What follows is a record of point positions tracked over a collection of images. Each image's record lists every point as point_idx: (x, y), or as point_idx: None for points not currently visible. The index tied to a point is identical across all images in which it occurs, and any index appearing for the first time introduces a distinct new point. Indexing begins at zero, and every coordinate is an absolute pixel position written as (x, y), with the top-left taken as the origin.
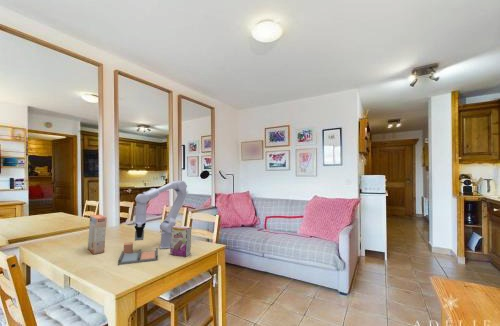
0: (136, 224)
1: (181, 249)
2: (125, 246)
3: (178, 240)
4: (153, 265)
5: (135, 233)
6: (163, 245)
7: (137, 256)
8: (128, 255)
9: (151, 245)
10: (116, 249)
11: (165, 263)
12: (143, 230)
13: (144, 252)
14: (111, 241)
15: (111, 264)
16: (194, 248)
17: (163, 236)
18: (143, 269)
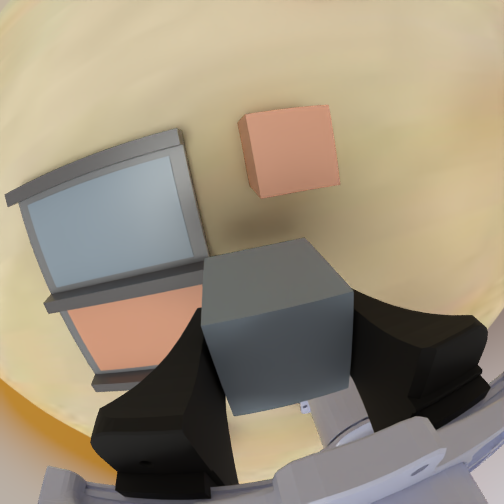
0: (426, 364)
1: None
2: (246, 132)
3: None
4: (48, 362)
5: (204, 314)
6: None
7: (115, 273)
8: (131, 201)
9: (387, 283)
10: (347, 51)
11: (78, 399)
12: (302, 398)
13: (194, 300)
14: (478, 32)
15: (30, 142)
16: (268, 458)
17: (331, 422)
18: (8, 330)
